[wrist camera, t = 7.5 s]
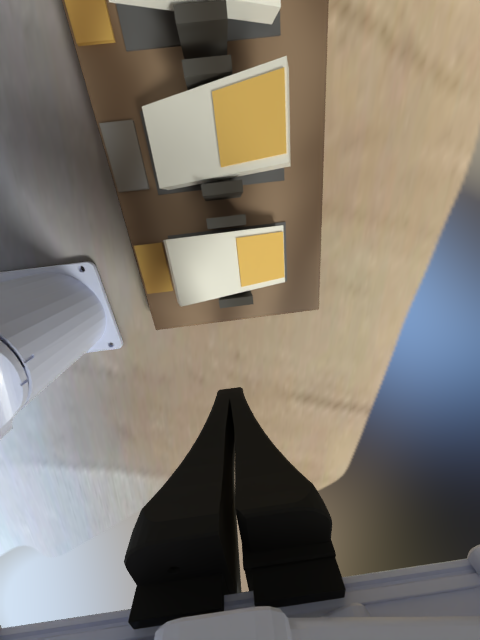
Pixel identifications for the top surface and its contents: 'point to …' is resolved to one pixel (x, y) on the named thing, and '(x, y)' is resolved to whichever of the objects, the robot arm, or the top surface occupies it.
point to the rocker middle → (222, 128)
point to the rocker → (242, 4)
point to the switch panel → (223, 195)
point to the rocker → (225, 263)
